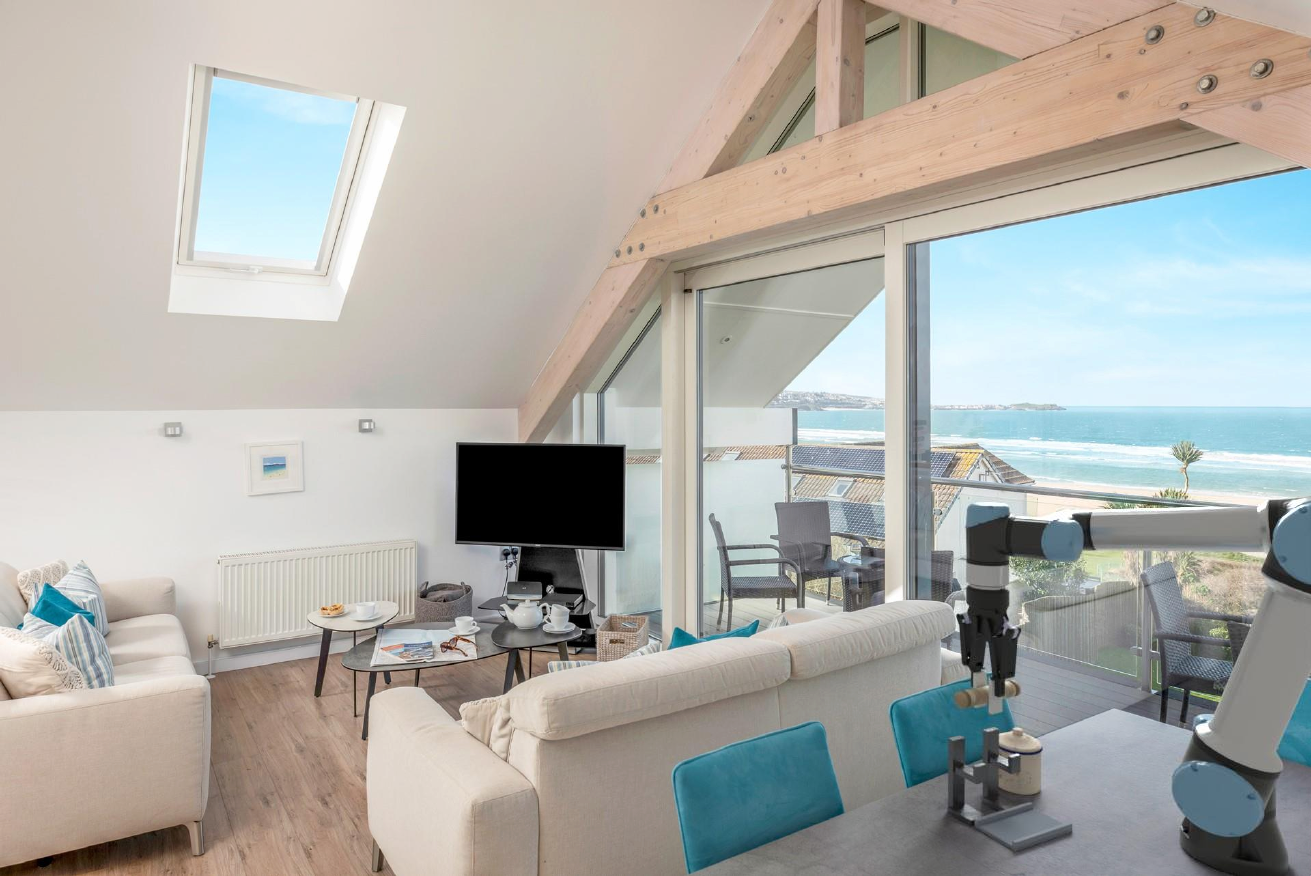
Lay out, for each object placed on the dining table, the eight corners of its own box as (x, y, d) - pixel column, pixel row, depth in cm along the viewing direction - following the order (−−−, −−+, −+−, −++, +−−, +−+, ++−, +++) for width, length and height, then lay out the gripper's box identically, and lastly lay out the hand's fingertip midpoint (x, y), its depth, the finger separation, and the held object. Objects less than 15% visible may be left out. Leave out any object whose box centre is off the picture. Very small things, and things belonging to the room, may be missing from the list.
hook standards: (1023, 811, 154) (1023, 738, 153) (972, 827, 148) (973, 751, 148) (995, 796, 160) (995, 726, 159) (946, 811, 154) (946, 738, 154)
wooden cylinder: (1009, 695, 157) (1005, 679, 157) (1022, 696, 154) (1018, 679, 155) (955, 708, 151) (952, 690, 151) (968, 709, 148) (964, 691, 149)
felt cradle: (1072, 831, 146) (1072, 823, 146) (1015, 851, 140) (1015, 842, 140) (1029, 809, 154) (1030, 801, 154) (974, 827, 148) (974, 819, 148)
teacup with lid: (1021, 773, 170) (1022, 718, 169) (1052, 793, 161) (1053, 735, 160) (971, 779, 167) (971, 724, 166) (1000, 800, 158) (1000, 741, 158)
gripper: (1038, 591, 146) (1038, 720, 147) (968, 575, 161) (969, 692, 162) (1008, 596, 143) (1008, 727, 144) (940, 579, 158) (940, 699, 158)
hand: (987, 709), depth 153 cm, fingers closed on wooden cylinder, 3 cm apart
